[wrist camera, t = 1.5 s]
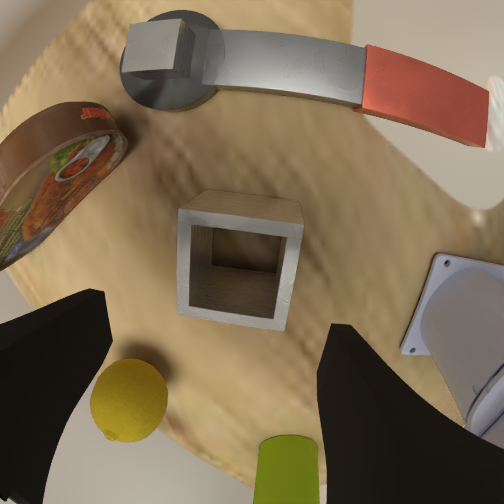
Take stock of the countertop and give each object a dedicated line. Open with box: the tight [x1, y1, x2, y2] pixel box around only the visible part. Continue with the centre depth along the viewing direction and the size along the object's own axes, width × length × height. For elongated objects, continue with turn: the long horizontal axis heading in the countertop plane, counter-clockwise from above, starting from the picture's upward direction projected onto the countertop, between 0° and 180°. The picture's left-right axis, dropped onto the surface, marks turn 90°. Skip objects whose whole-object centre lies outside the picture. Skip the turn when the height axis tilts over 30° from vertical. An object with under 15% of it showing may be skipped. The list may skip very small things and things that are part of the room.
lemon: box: [90, 359, 168, 442], centre depth 19 cm, size 6×6×8 cm
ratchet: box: [120, 10, 489, 148], centre depth 12 cm, size 21×6×4 cm, turn 84°
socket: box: [177, 190, 304, 331], centre depth 15 cm, size 5×5×5 cm
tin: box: [0, 102, 128, 271], centre depth 14 cm, size 15×3×8 cm, turn 122°
